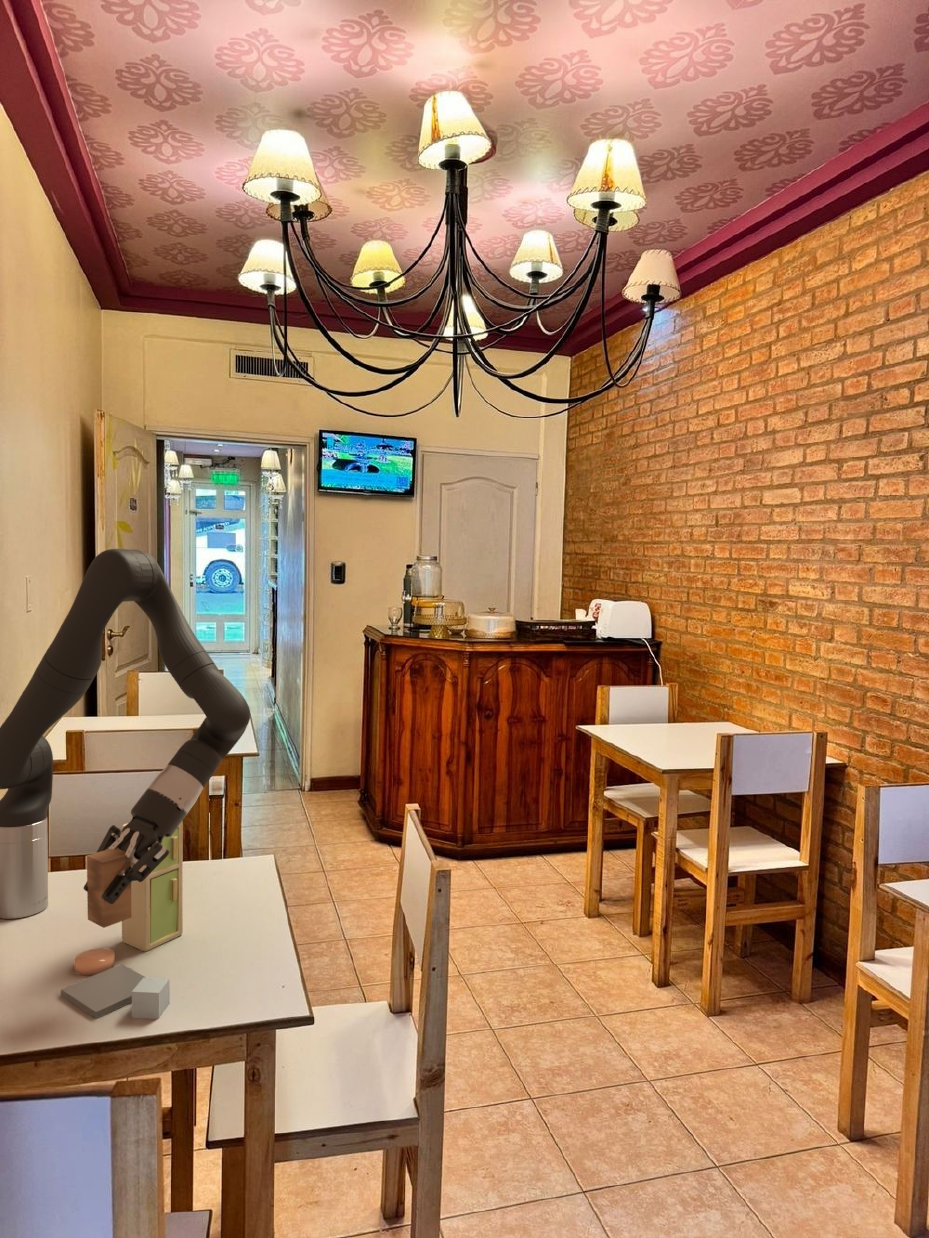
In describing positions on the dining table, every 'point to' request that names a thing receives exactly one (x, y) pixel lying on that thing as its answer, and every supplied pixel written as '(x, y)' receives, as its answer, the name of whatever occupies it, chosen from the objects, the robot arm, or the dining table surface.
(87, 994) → the slate coaster
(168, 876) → the toy refrigerator
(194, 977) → the dining table surface
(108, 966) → the orange disc
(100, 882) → the walnut block
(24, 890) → the robot arm
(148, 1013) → the grey cube
